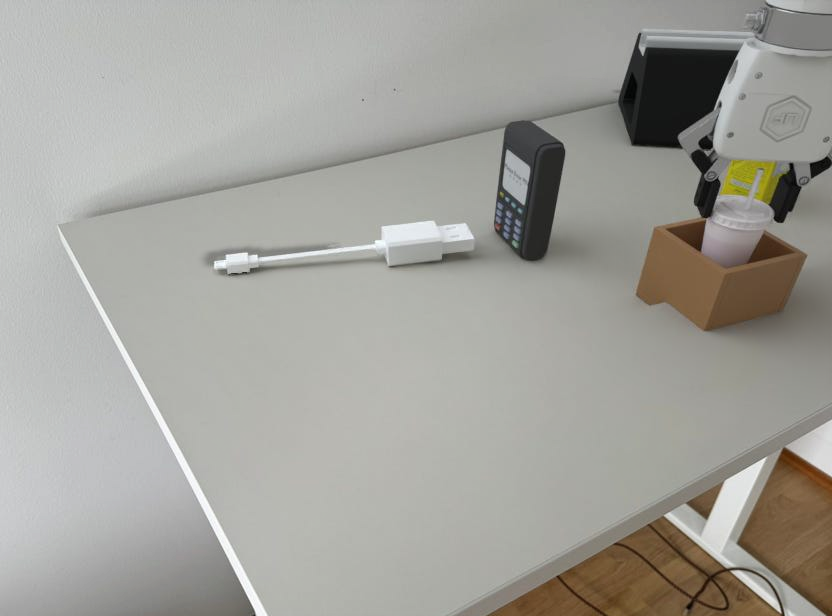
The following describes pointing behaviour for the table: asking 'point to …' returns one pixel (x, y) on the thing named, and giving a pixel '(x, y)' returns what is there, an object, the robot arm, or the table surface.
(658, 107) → the device stand
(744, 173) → the supplement box
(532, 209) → the card reader
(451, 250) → the charging cable
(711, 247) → the smoothie
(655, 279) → the open box
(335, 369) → the table surface
